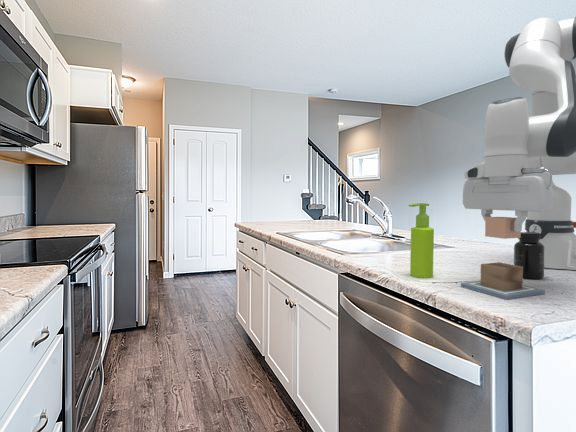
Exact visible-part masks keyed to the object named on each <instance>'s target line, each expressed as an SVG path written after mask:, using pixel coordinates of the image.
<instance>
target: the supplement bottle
mask: <svg viewBox="0 0 576 432" xmlns="http://www.w3.org/2000/svg"><path fill="white" fill-rule="evenodd" d="M517 240H519V241H516V242H515V243H514V245H513V265H516V266H522V267H523V279H527V280H542V279H543V278H544V277H545V268H544V246H543V244H541V243H540V242H539V240H540V233H536V232H526V231H521V236H520V238H517Z"/></svg>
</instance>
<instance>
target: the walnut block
mask: <svg viewBox="0 0 576 432" xmlns="http://www.w3.org/2000/svg"><path fill="white" fill-rule="evenodd" d="M523 279H524V278H523V267H522V266H516V265H514V264H510V263H507V262H506V263H505V262H500V261H499V262H489V263H481V264H480V281H481V282H480V285H483V286H486V287H490V288H494V289H498V290H501V291H508V290H515V289H522V285H523V281H524V280H523Z"/></svg>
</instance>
